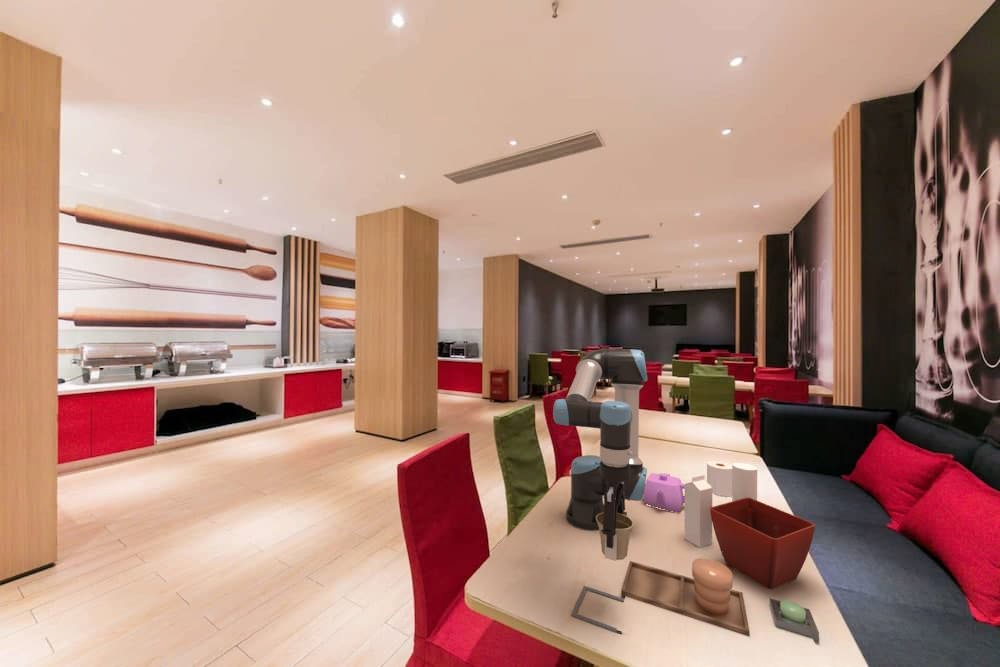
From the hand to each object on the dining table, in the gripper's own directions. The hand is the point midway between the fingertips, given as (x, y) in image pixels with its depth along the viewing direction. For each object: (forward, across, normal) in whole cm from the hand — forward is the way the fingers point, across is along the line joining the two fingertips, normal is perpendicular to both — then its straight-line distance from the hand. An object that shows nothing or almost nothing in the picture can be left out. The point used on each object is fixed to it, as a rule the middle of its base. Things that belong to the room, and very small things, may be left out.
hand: (614, 549), depth 96 cm
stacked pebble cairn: (+13, +11, -22) cm, 28 cm away
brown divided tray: (+14, +10, -15) cm, 23 cm away
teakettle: (+15, +67, -5) cm, 69 cm away
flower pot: (+1, 0, 0) cm, 1 cm away
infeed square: (+14, -4, +2) cm, 15 cm away
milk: (+15, +44, -19) cm, 50 cm away
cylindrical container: (+15, +53, -33) cm, 64 cm away
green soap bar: (+13, +14, -39) cm, 44 cm away
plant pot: (+15, +34, -35) cm, 51 cm away
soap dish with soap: (+14, +14, -39) cm, 44 cm away
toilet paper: (+15, +94, -27) cm, 99 cm away
